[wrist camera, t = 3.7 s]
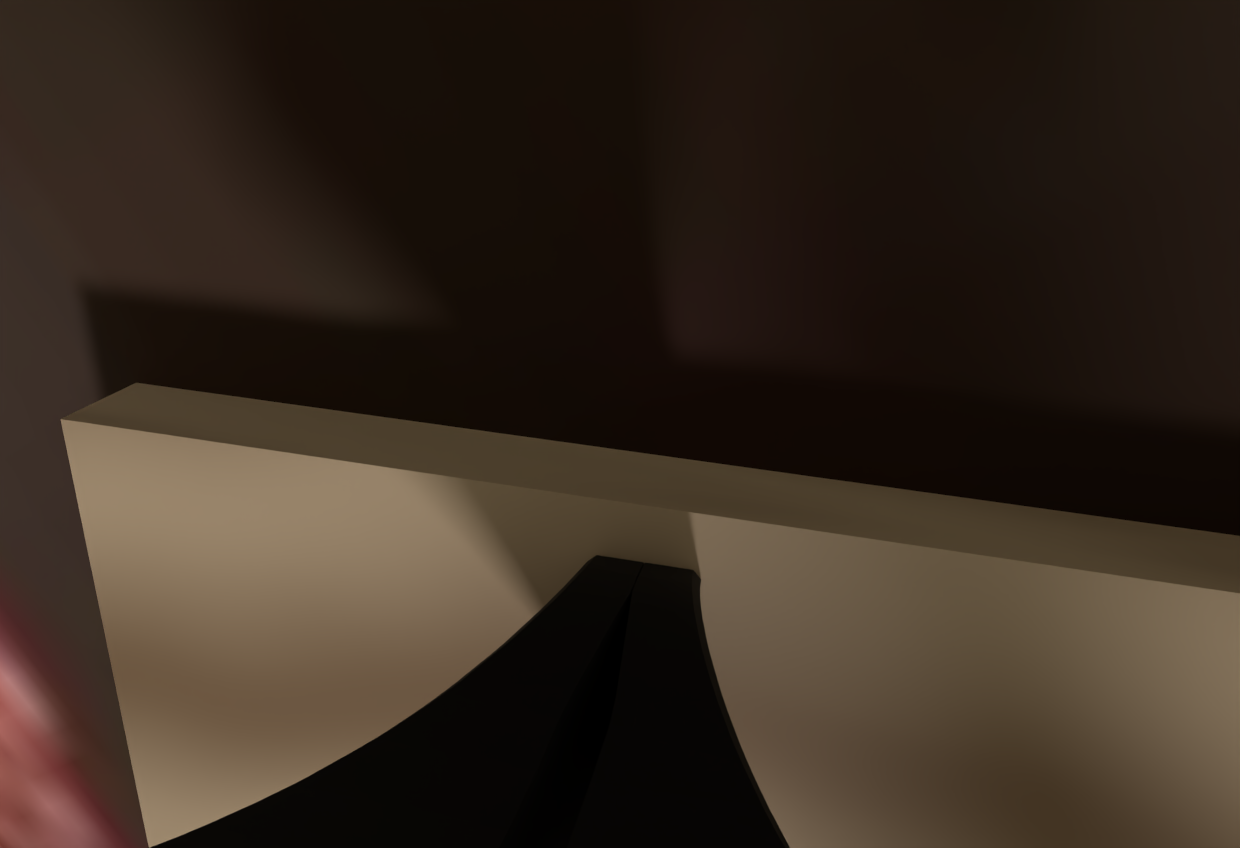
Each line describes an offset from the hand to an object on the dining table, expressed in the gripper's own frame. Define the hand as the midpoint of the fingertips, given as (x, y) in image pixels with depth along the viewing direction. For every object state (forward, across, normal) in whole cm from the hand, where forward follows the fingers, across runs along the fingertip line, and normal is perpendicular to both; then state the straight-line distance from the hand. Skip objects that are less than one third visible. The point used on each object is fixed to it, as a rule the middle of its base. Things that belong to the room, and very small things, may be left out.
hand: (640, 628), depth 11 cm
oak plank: (+1, -3, +2) cm, 4 cm away
